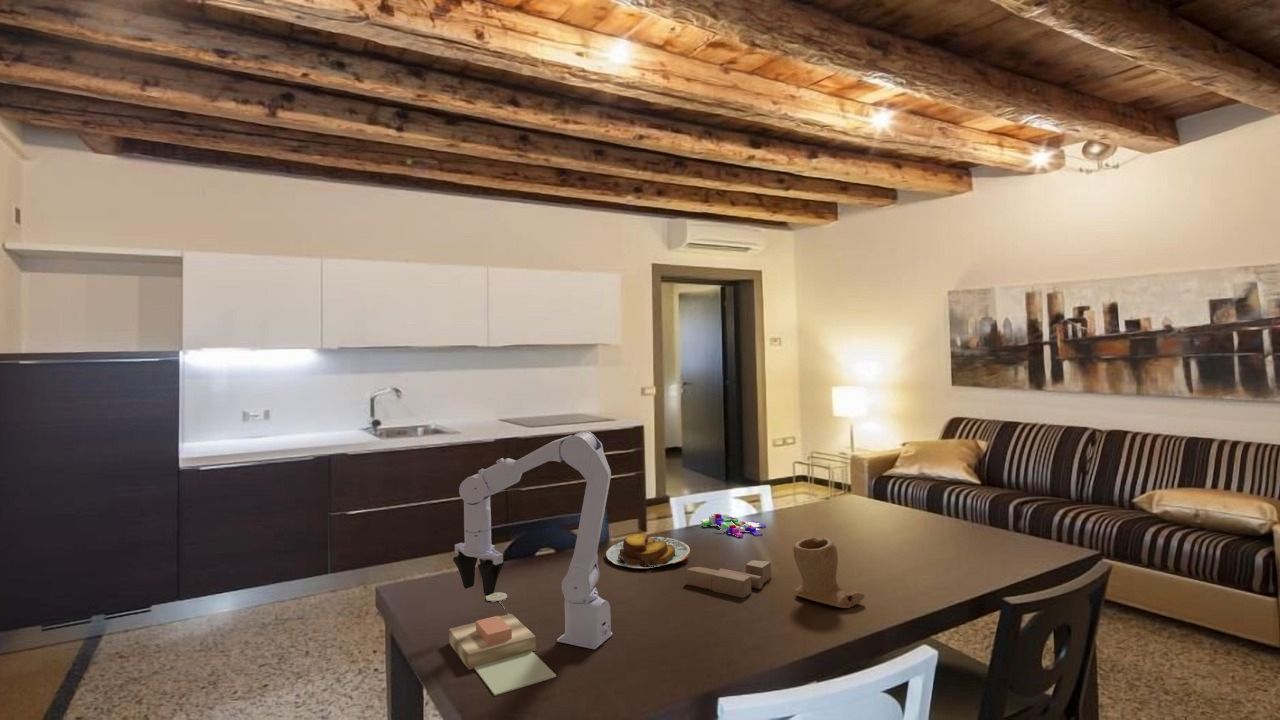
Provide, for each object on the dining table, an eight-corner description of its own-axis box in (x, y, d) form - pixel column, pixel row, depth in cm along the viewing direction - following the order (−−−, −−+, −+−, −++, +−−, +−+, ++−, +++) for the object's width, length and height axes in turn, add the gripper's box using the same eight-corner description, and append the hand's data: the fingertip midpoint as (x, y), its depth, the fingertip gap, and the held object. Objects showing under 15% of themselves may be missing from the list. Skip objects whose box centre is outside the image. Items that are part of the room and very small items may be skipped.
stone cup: (783, 599, 155) (782, 538, 155) (812, 587, 162) (811, 529, 162) (838, 617, 143) (837, 552, 143) (866, 604, 151) (864, 541, 151)
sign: (498, 616, 147) (483, 594, 160) (498, 620, 147) (483, 598, 160) (520, 612, 149) (504, 591, 162) (520, 616, 149) (504, 594, 162)
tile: (475, 630, 133) (475, 621, 133) (498, 624, 136) (498, 615, 136) (488, 644, 126) (487, 634, 126) (511, 638, 129) (511, 628, 129)
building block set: (780, 534, 213) (779, 521, 213) (726, 542, 206) (726, 528, 206) (742, 517, 236) (742, 505, 236) (693, 523, 229) (692, 511, 229)
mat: (474, 668, 123) (474, 667, 122) (531, 652, 129) (531, 650, 129) (494, 695, 112) (494, 694, 112) (556, 676, 119) (556, 675, 119)
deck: (449, 642, 134) (448, 628, 134) (511, 627, 141) (511, 613, 141) (468, 669, 122) (468, 654, 122) (536, 650, 129) (535, 636, 129)
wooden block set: (746, 578, 155) (684, 565, 166) (747, 600, 155) (685, 586, 166) (774, 559, 169) (715, 548, 180) (775, 580, 169) (716, 568, 180)
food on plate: (706, 563, 184) (705, 541, 184) (631, 579, 172) (630, 555, 172) (661, 541, 206) (661, 521, 206) (592, 554, 194) (592, 533, 194)
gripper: (513, 530, 137) (514, 592, 137) (472, 520, 146) (473, 578, 146) (487, 537, 132) (488, 602, 132) (446, 527, 141) (447, 587, 141)
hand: (478, 590), depth 138 cm, fingers open, 7 cm apart
